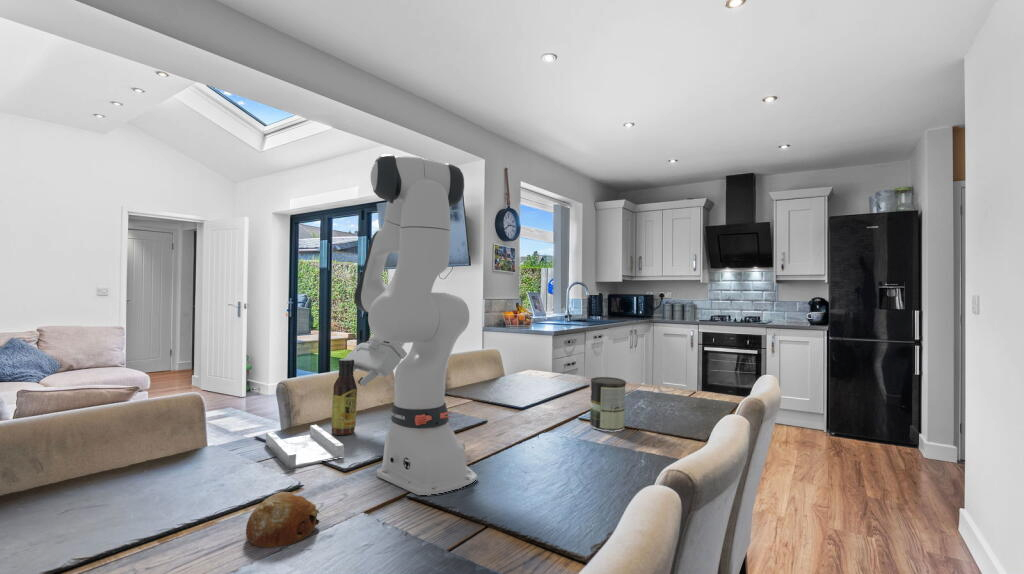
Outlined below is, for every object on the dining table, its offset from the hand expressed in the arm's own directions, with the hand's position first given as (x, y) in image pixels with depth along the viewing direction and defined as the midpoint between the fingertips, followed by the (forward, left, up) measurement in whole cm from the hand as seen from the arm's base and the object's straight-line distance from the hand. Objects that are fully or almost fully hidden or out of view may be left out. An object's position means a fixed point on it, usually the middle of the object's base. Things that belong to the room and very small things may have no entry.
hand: (352, 381), depth 131 cm
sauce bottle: (0, +2, -14) cm, 14 cm away
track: (-9, +15, -13) cm, 22 cm away
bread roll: (-46, +29, -14) cm, 56 cm away
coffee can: (-38, -63, -14) cm, 75 cm away
